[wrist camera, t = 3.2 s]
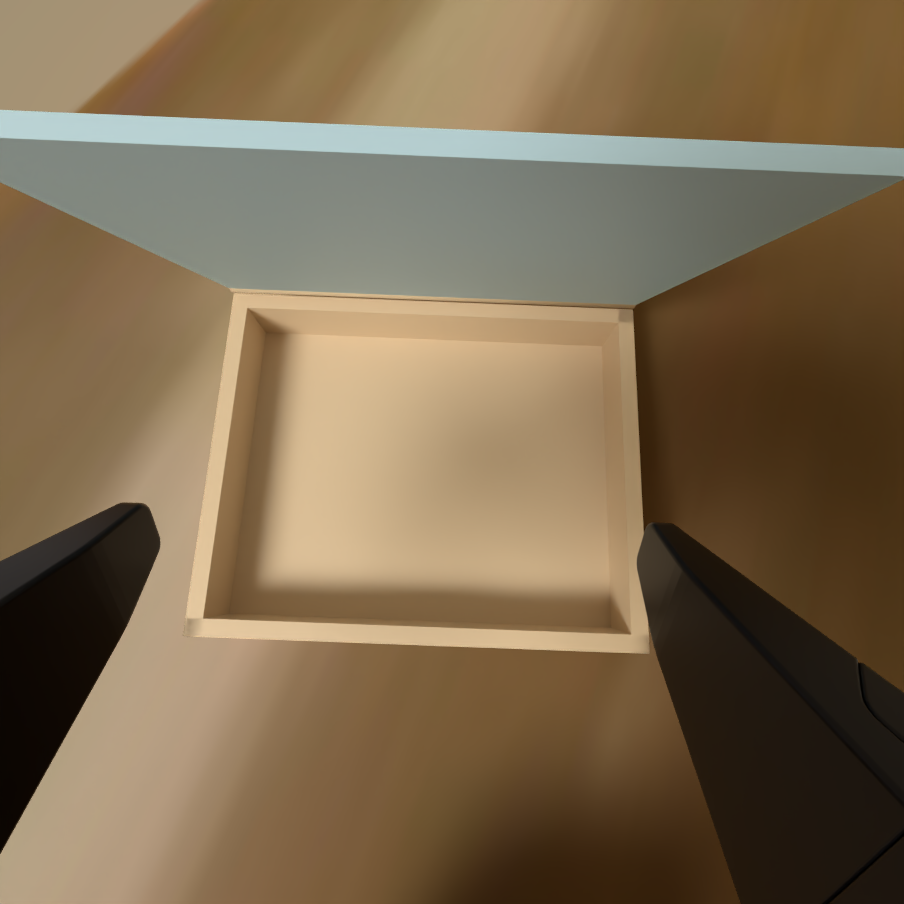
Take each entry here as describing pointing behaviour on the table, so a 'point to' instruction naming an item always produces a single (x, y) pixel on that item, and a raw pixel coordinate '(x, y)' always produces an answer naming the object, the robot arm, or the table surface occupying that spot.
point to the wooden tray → (423, 477)
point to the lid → (431, 203)
